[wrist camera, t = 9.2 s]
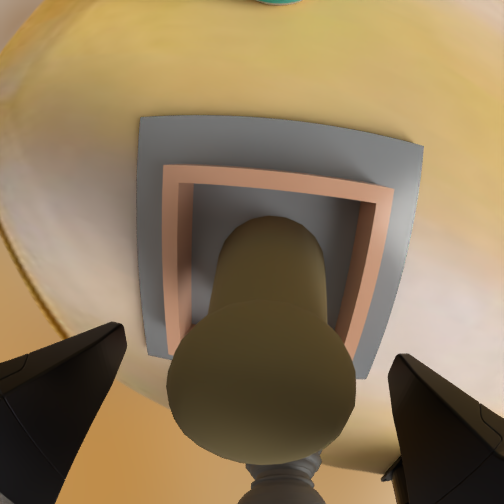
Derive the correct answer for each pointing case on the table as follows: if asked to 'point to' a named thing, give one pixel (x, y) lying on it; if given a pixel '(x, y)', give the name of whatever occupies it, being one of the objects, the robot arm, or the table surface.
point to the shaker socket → (272, 204)
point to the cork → (264, 352)
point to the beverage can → (279, 2)
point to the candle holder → (284, 482)
